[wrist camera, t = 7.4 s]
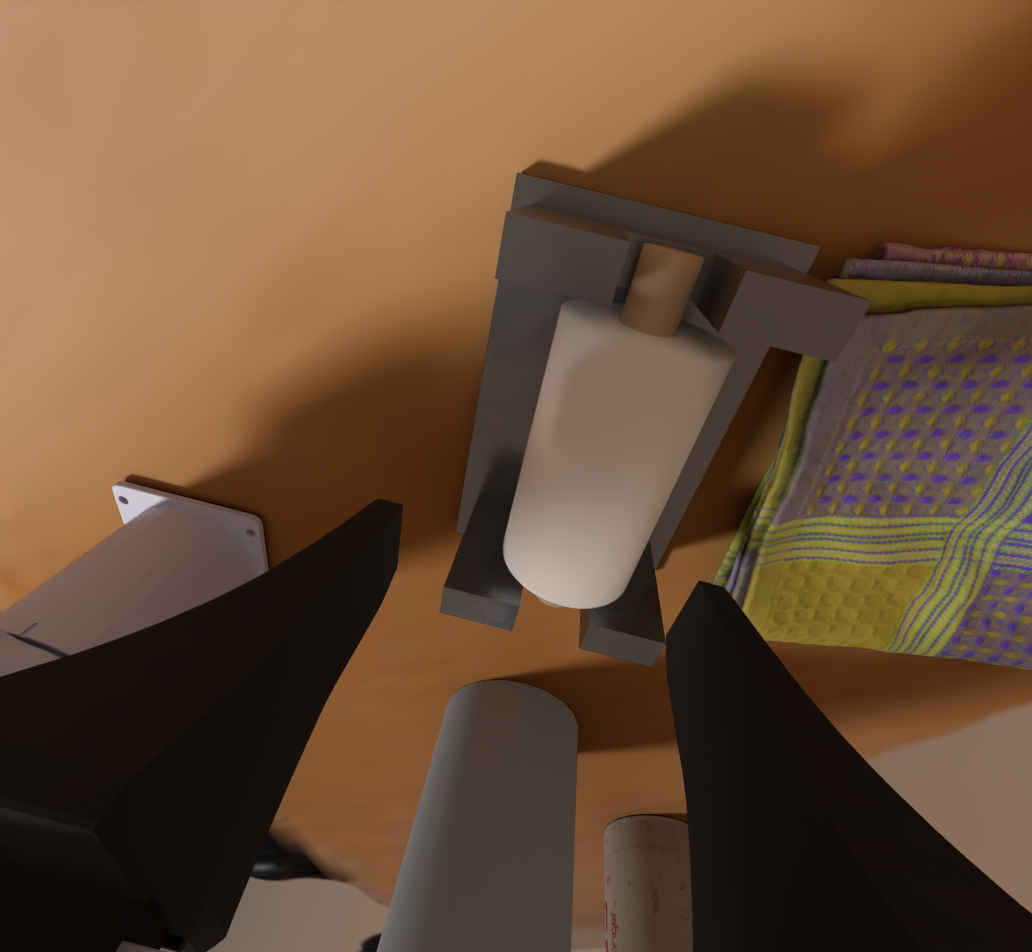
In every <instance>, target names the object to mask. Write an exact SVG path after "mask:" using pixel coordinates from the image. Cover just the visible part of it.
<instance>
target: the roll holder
mask: <svg viewBox="0 0 1032 952" xmlns="http://www.w3.org/2000/svg"><path fill="white" fill-rule="evenodd" d="M644 243H652V244H657V245H662V246H667V247H671V248H675V249H679V250H682V251H686V252H689V253H692V254H695V255H698V256H701V257H703V258H705V260H704V262H703V265H702V267H701V270H700V272H699V275H698V278H697V280H696V283H695V285H694V288H693V290H692V293H691V295H690V298H689V301H688V303H687V306H686V308H685V311H684V313H683V316H682V319H681V320H682V321H685V322H688V323H690V324H693V325H695V326H698V327H700V328H702V329H704V330H706V331H708V332H710V333H712V334H714V335H716V336H718V337H720V338H721V339H723V340H724V341H726V342H727V343H728V344H730V345H731V346H732V347H733V348H734V350H735V351H736V357H735V359H734V361H733V363H732V365H731V368H730V370H729V372H728V374H727V376H726V378H725V380H724V382H723V384H722V386H721V389H720V391H719V393H718V395H717V397H716V399H715V401H714V403H713V405H712V408H711V410H710V412H709V414H708V416H707V418H706V420H705V422H704V424H703V427H702V429H701V431H700V433H699V435H698V437H697V439H696V441H695V443H694V446H693V448H692V450H691V452H690V454H689V456H688V458H687V460H686V462H685V464H684V467H683V469H682V471H681V473H680V475H679V477H678V479H677V481H676V483H675V486H674V488H673V490H672V492H671V494H670V496H669V498H668V500H667V502H666V505H665V507H664V509H663V511H662V513H661V515H660V517H659V519H658V521H657V523H656V526H655V528H654V530H653V532H652V534H651V536H650V538H649V540H648V542H647V545H646V547H645V549H644V551H643V553H642V555H641V557H640V559H639V561H638V564H637V566H636V568H635V570H634V572H633V574H632V576H631V578H630V580H629V583H628V585H627V587H626V589H625V591H624V592H623V593H622V595H621V596H620V597H619V598H617V599H616V600H615V601H613V602H611V603H609V604H607V605H604V606H601V607H597V608H588V609H580V636H579V649H583V650H587V651H591V652H595V653H599V654H603V655H607V656H610V657H614V658H618V659H622V660H626V661H630V662H634V663H638V664H641V665H645V666H649V667H652V666H653V664H654V663H655V661H656V659H657V658H658V656H659V655H660V653H661V651H662V650H663V648H664V646H665V645H666V642H665V635H664V628H663V622H662V615H661V609H660V602H659V595H658V589H657V582H656V576H655V570H656V568H657V566H658V564H659V562H660V560H661V558H662V556H663V554H664V552H665V551H666V549H667V547H668V545H669V543H670V541H671V539H672V537H673V535H674V533H675V531H676V529H677V527H678V525H679V523H680V521H681V519H682V517H683V515H684V513H685V511H686V510H687V508H688V506H689V504H690V502H691V500H692V498H693V496H694V494H695V492H696V490H697V488H698V486H699V484H700V482H701V480H702V478H703V476H704V474H705V472H706V470H707V469H708V467H709V465H710V463H711V461H712V459H713V457H714V455H715V453H716V451H717V449H718V447H719V445H720V443H721V441H722V439H723V437H724V435H725V433H726V431H727V429H728V427H729V426H730V424H731V422H732V420H733V418H734V416H735V414H736V412H737V410H738V408H739V406H740V404H741V402H742V400H743V398H744V396H745V394H746V392H747V390H748V388H749V386H750V385H751V383H752V381H753V379H754V377H755V375H756V373H757V371H758V369H759V367H760V365H761V363H762V361H763V359H764V357H765V355H766V353H767V351H768V349H769V347H770V346H771V347H775V348H779V349H783V350H787V351H791V352H795V353H799V354H803V355H807V356H811V357H815V358H819V359H823V360H827V361H831V362H836V361H837V359H838V358H839V356H840V354H841V353H842V351H843V349H844V348H845V346H846V344H847V343H848V341H849V339H850V338H851V336H852V334H853V333H854V331H855V329H856V328H857V326H858V324H859V323H860V321H861V319H862V318H863V316H864V315H865V313H866V311H867V310H868V308H869V306H870V305H871V303H872V301H870V300H868V299H866V298H863V297H861V296H859V295H856V294H854V293H851V292H849V291H847V290H844V289H842V288H840V287H837V286H835V285H832V284H830V283H828V282H825V281H823V280H820V279H818V278H816V277H813V276H811V275H809V274H807V273H808V271H809V269H810V267H811V265H812V263H813V262H814V260H815V258H816V256H817V254H818V252H819V250H820V248H821V246H817V245H813V244H809V243H805V242H801V241H797V240H793V239H789V238H785V237H780V236H776V235H772V234H768V233H764V232H760V231H756V230H752V229H748V228H744V227H739V226H735V225H731V224H727V223H723V222H719V221H715V220H711V219H707V218H702V217H698V216H694V215H690V214H686V213H682V212H678V211H674V210H670V209H666V208H661V207H657V206H653V205H649V204H645V203H641V202H637V201H633V200H629V199H624V198H620V197H616V196H612V195H608V194H604V193H600V192H596V191H592V190H588V189H583V188H579V187H575V186H571V185H567V184H563V183H559V182H555V181H551V180H546V179H542V178H538V177H534V176H530V175H526V174H522V173H517V175H516V181H515V187H514V193H513V199H512V205H511V210H510V211H507V212H506V216H505V222H504V228H503V234H502V240H501V246H500V252H499V258H498V264H497V270H496V276H495V278H496V279H499V281H498V287H497V292H496V298H495V304H494V310H493V316H492V322H491V328H490V334H489V339H488V345H487V351H486V357H485V363H484V369H483V375H482V380H481V386H480V392H479V398H478V404H477V410H476V416H475V421H474V427H473V433H472V439H471V445H470V451H469V457H468V462H467V468H466V474H465V480H464V486H463V492H462V498H461V503H460V509H459V515H458V521H457V527H456V532H458V533H462V534H464V535H463V538H462V540H461V543H460V545H459V548H458V551H457V553H456V556H455V559H454V561H453V564H452V566H451V569H450V572H449V574H448V577H447V580H446V582H445V585H444V588H443V594H442V600H441V606H440V613H444V614H448V615H452V616H456V617H459V618H463V619H467V620H471V621H475V622H479V623H483V624H487V625H490V626H494V627H498V628H502V629H506V630H510V631H512V628H513V625H514V622H515V619H516V615H517V612H518V609H519V605H520V599H521V594H522V589H523V585H522V584H520V583H519V582H518V580H517V579H516V578H515V577H514V576H513V575H512V573H511V572H510V570H509V569H508V567H507V565H506V563H505V560H504V556H503V541H504V537H505V533H506V529H507V525H508V520H509V516H510V512H511V508H512V504H513V500H514V496H515V492H516V488H517V484H518V480H519V476H520V472H521V468H522V464H523V460H524V455H525V451H526V447H527V443H528V439H529V435H530V431H531V427H532V423H533V419H534V415H535V411H536V407H537V403H538V399H539V395H540V390H541V386H542V382H543V378H544V374H545V370H546V366H547V362H548V358H549V354H550V350H551V346H552V342H553V338H554V334H555V330H556V325H557V321H558V317H559V313H560V309H561V306H562V304H563V303H565V302H567V301H570V300H578V299H581V300H585V301H589V302H593V303H597V304H601V305H605V306H609V307H611V304H612V302H615V303H621V304H625V301H626V298H627V295H628V292H629V289H630V286H631V282H632V279H633V276H634V273H635V270H636V267H637V264H638V260H639V257H640V254H641V251H642V248H643V245H644Z"/></svg>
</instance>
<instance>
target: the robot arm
mask: <svg viewBox="0 0 1032 952" xmlns="http://www.w3.org/2000/svg"><path fill="white" fill-rule="evenodd" d="M112 489H113V493H114V496H115V499H116V502H117V505H118V508H119V511H120V514H121V516H122V519H123V522H124V525H123V526H122V527H120V528H119V529H117V530H116V531H115V532H113V533H112V534H111V535H109V536H108V537H106V538H105V539H104V540H102V541H101V542H99V543H98V544H97V545H95V546H94V547H92V548H91V549H90V550H88V551H87V552H85V553H84V554H83V555H81V556H80V557H78V558H77V559H76V560H74V561H73V562H72V563H70V564H69V565H67V566H66V567H65V568H63V569H62V570H60V571H59V572H58V573H56V574H55V575H53V576H52V577H51V578H49V579H48V580H46V581H45V582H44V583H42V584H41V585H39V586H38V587H37V588H35V589H34V590H33V591H31V592H30V593H28V594H27V595H26V596H24V597H23V598H21V599H20V600H19V601H17V602H16V603H14V604H13V605H12V606H10V607H9V608H7V609H6V610H5V611H3V612H2V613H0V952H164V951H161V950H160V948H164V949H168V950H172V951H176V952H181V951H182V952H206V951H208V950H209V949H211V948H212V947H214V946H215V945H216V944H218V943H219V942H220V941H222V940H223V939H224V938H225V937H226V935H227V932H228V930H229V927H230V924H231V922H232V919H233V917H234V914H235V912H236V909H237V907H238V904H239V902H240V900H241V897H242V894H243V892H244V890H245V887H246V885H247V882H248V880H249V877H250V875H251V872H252V870H253V868H254V865H255V863H256V860H257V858H258V855H259V853H260V850H261V848H262V846H263V843H264V841H265V839H266V836H267V834H268V832H269V829H270V827H271V824H272V822H273V820H274V817H275V815H276V813H277V810H278V808H279V806H280V803H281V801H282V799H283V796H284V794H285V792H286V789H287V787H288V785H289V783H290V780H291V778H292V776H293V774H294V771H295V769H296V767H297V764H298V762H299V760H300V758H301V755H302V753H303V751H304V749H305V746H306V744H307V742H308V740H309V738H310V736H311V733H312V731H313V729H314V727H315V725H316V722H317V720H318V718H319V716H320V714H321V712H322V709H323V707H324V705H325V703H326V701H327V699H328V697H329V696H330V694H331V692H332V690H333V688H334V686H335V684H336V683H337V681H338V679H339V677H340V676H341V674H342V672H343V670H344V669H345V667H346V665H347V663H348V662H349V660H350V658H351V657H352V655H353V653H354V651H355V650H356V648H357V646H358V644H359V643H360V641H361V639H362V637H363V636H364V634H365V632H366V630H367V629H368V627H369V625H370V623H371V622H372V620H373V618H374V616H375V615H376V613H377V611H378V609H379V607H380V606H381V604H382V602H383V599H384V597H385V595H386V592H387V590H388V588H389V586H390V583H391V581H392V578H393V576H394V573H395V571H396V569H397V565H398V554H399V543H400V532H401V521H402V510H403V505H402V504H398V503H394V502H390V501H386V500H382V499H376V500H375V501H373V502H372V503H370V504H369V505H367V506H366V507H365V508H363V509H362V510H360V511H359V512H358V513H356V514H355V515H354V516H352V517H351V518H349V519H348V520H346V521H345V522H344V523H342V524H341V525H339V526H338V527H336V528H335V529H334V530H332V531H331V532H329V533H328V534H326V535H325V536H323V537H322V538H320V539H319V540H317V541H316V542H314V543H313V544H311V545H310V546H308V547H306V548H305V549H303V550H302V551H300V552H299V553H297V554H295V555H294V556H292V557H290V558H288V559H287V560H285V561H283V562H282V563H280V564H278V565H277V566H275V567H273V568H272V569H270V570H269V569H268V562H267V554H266V546H265V538H264V530H263V524H262V521H261V519H260V518H259V517H257V516H255V515H253V514H249V513H245V512H241V511H237V510H233V509H229V508H226V507H222V506H218V505H214V504H210V503H206V502H202V501H198V500H194V499H191V498H187V497H183V496H179V495H175V494H171V493H167V492H163V491H159V490H155V489H152V488H148V487H144V486H140V485H136V484H132V483H128V482H124V481H120V482H118V483H116V484H115V485H113V487H112ZM666 662H667V679H668V686H669V693H670V699H671V706H672V712H673V718H674V724H675V730H676V736H677V742H678V748H679V754H680V760H681V766H682V772H683V779H684V787H685V795H686V806H687V820H688V835H689V850H690V872H691V894H692V935H693V952H1032V914H1031V913H1030V912H1029V911H1028V910H1026V909H1025V908H1024V907H1023V906H1021V905H1020V904H1019V903H1018V902H1016V900H1014V899H1013V898H1012V897H1011V896H1010V895H1008V894H1007V893H1006V892H1005V891H1004V890H1003V889H1002V888H1000V887H999V886H998V885H997V884H995V882H994V881H992V880H991V879H990V878H989V877H988V876H987V875H986V874H984V873H983V872H982V871H981V870H980V869H978V867H976V866H975V865H974V864H973V863H972V862H971V861H969V860H968V859H967V858H966V857H965V856H964V855H963V854H962V853H960V852H959V851H958V850H957V849H956V848H955V847H954V846H953V845H952V844H951V843H949V842H948V841H947V840H946V839H945V838H944V837H943V836H942V835H941V834H940V833H938V832H937V831H936V830H935V829H934V828H933V827H932V826H931V825H930V824H929V823H928V822H927V821H926V820H925V819H924V818H923V817H922V816H921V815H919V814H918V813H917V812H916V811H915V810H914V809H913V808H912V807H911V806H910V805H909V804H908V803H907V802H906V801H905V800H904V799H903V798H902V797H901V796H900V795H899V794H898V793H897V792H896V791H895V790H894V789H893V788H892V787H890V785H889V784H888V783H886V782H885V780H884V779H883V778H882V777H881V776H880V775H879V774H878V773H877V772H876V771H875V770H874V769H873V768H872V767H871V766H870V765H869V764H868V763H867V762H866V761H865V760H864V759H863V757H862V756H861V755H860V754H859V753H858V752H857V751H856V750H855V749H854V748H853V747H852V746H851V745H850V744H849V742H848V741H847V740H846V739H845V738H844V737H843V736H842V735H841V734H840V733H839V732H838V730H837V729H836V728H835V727H834V726H833V725H832V724H831V723H830V721H829V720H828V719H827V718H826V717H825V716H824V714H823V713H822V712H821V711H820V710H819V708H818V707H817V706H816V705H815V704H814V702H813V701H812V700H811V699H810V698H809V696H808V695H807V694H806V693H805V692H804V690H803V689H802V688H801V687H800V685H799V684H798V683H797V682H796V680H795V679H794V678H793V677H792V675H791V674H790V673H789V672H788V670H787V669H786V668H785V667H784V665H783V664H782V663H781V661H780V660H779V659H778V657H777V656H776V655H775V653H774V652H773V651H772V650H771V648H770V647H769V646H768V644H767V643H766V642H765V640H764V639H763V638H762V636H761V635H760V633H759V632H758V631H757V629H756V628H755V627H754V625H753V624H752V623H751V621H750V620H749V619H748V617H747V616H746V615H745V613H744V612H743V611H742V609H741V608H740V606H739V605H738V604H737V603H736V601H735V600H734V599H733V597H732V596H731V595H730V593H729V592H728V591H727V590H726V589H725V587H722V586H718V585H714V584H710V583H706V582H703V581H698V583H697V585H696V586H695V588H694V590H693V591H692V593H691V595H690V596H689V598H688V600H687V601H686V603H685V605H684V606H683V608H682V610H681V612H680V613H679V615H678V617H677V618H676V620H675V622H674V623H673V625H672V627H671V628H670V630H669V632H668V633H667V635H666Z"/></svg>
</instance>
